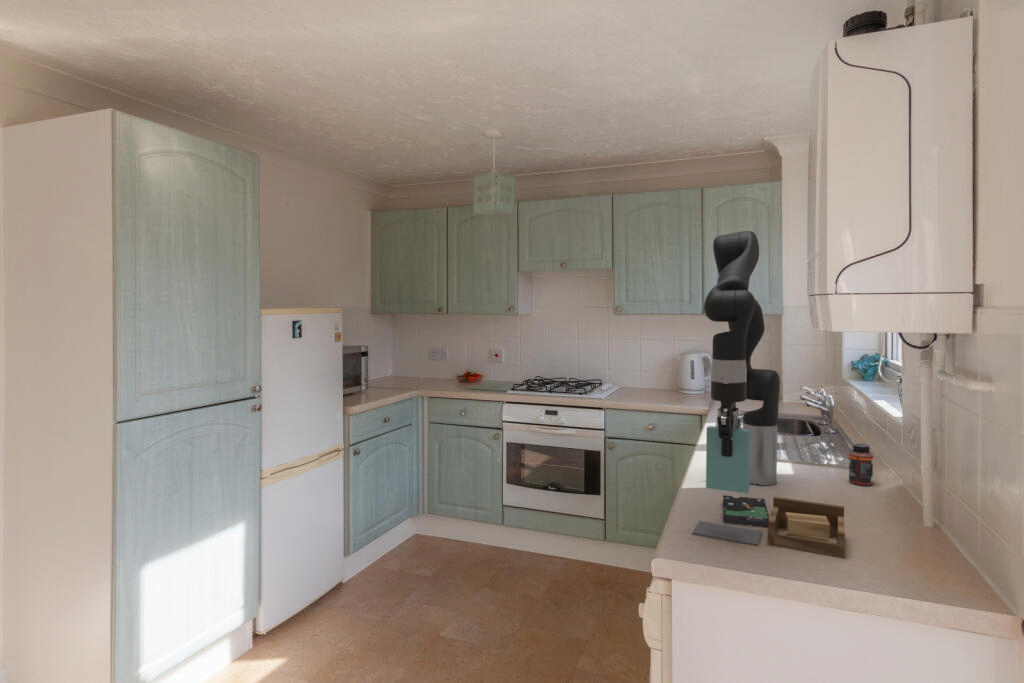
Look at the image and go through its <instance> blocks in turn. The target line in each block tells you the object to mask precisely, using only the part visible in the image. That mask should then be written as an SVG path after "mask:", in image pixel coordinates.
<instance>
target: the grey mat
mask: <svg viewBox="0 0 1024 683" xmlns="http://www.w3.org/2000/svg"><path fill="white" fill-rule="evenodd" d="M762 534H763V530H757V529H749V528H744V527H739V526H731V525H726V524H721V523H714V522H709V521H703V520H698V522H697V523H696V525H695V527H694V529H693V530H692V532H691V535H696V536H699V537H700V536H701V537H706V538H712V539H717V540H723V541H729V542H734V543H739V544H746V545H750V546H751V545H752V546H755V547H756V546H757V547H758V546H759V544H760V541H761V538H762Z"/></svg>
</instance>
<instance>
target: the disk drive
mask: <svg viewBox="0 0 1024 683" xmlns="http://www.w3.org/2000/svg"><path fill="white" fill-rule="evenodd" d="M766 503H767V502H766V500H765V498H760V497H759V498H757V497H747V496H740V497H734V496H733V495H725V494H724V495H722V509H723V510H722V512H723V513H722V514H723V517H722V519H723V523H724V524H729V523H731V524H732V525H738V524H742V525H741V526H748V525H752V526H751V527H756V526H761V527H760V528H766V527H768V522H769V518H770V515H769V510H768V507H767V504H766Z"/></svg>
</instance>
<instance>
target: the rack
mask: <svg viewBox="0 0 1024 683" xmlns="http://www.w3.org/2000/svg"><path fill="white" fill-rule="evenodd" d="M772 501H773V502H772V509H771V511H770V515H769V522H768V528H767V533H768V534H767V535H768V536H767V544H768V545H769V546H770V545H771V546H775V547H781V548H787V549H793V550H799V551H804V552H810V553H816V554H821V555H826V556H833V557H838V558H845V543H846V542H845V540H846V539H845V537H846V533H845V532H846V530H845V506H844V505H837V504H830V503H822V502H815V501H807V500H801V499H794V498H789V497H788V498H786V497H779V496H773V497H772ZM786 512H788V513H798V514H808V515H818V516H826V517H827V519H828V521H829V524H830V538H831V537H832V538H836V539H837V540H836V542H833V541H829V540H828V541H822V540H816V539H810V538H804V537H798V536H792V535H786V533H785V534H784V533H779V529H780V528H783V529H782V530H786ZM777 531H778V532H777Z"/></svg>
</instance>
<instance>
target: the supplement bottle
mask: <svg viewBox="0 0 1024 683" xmlns="http://www.w3.org/2000/svg"><path fill="white" fill-rule="evenodd" d="M852 446H853V447H852V450H850V452H849V454H848V455H849V458H848V481H849V483H851V484H852V485H857V486H866V487H867V486H872V484H873V481H874V480H873V479H874V455H873V453H872V452H871V451H870V445H869V444H866V443H853V445H852Z"/></svg>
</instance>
